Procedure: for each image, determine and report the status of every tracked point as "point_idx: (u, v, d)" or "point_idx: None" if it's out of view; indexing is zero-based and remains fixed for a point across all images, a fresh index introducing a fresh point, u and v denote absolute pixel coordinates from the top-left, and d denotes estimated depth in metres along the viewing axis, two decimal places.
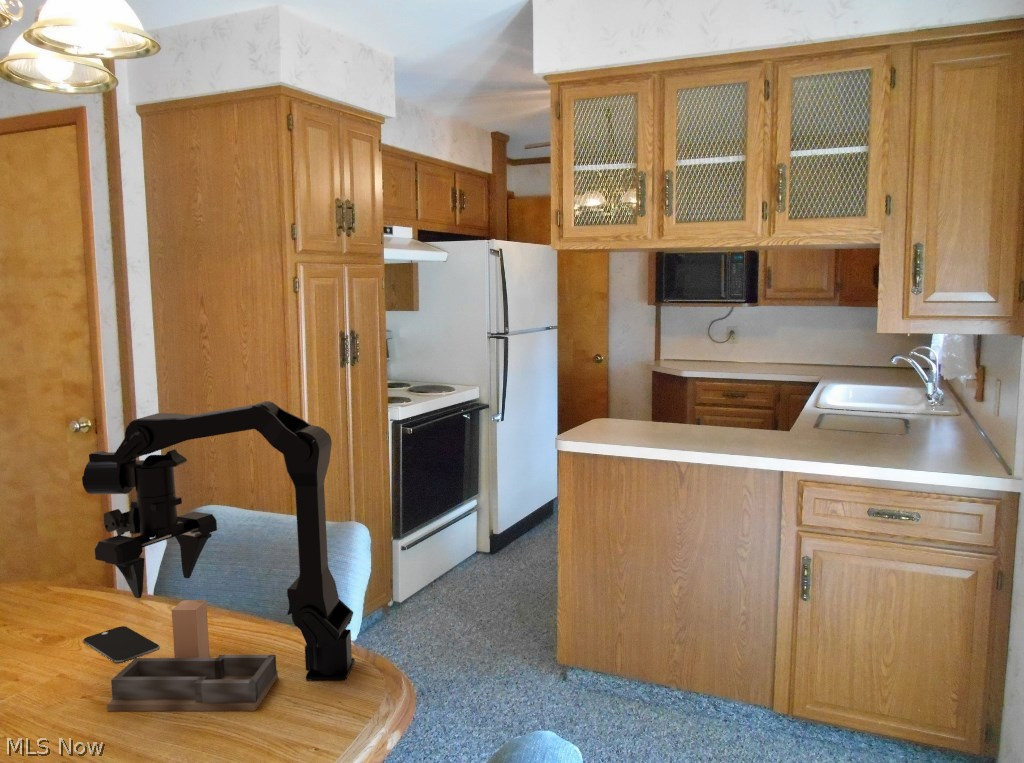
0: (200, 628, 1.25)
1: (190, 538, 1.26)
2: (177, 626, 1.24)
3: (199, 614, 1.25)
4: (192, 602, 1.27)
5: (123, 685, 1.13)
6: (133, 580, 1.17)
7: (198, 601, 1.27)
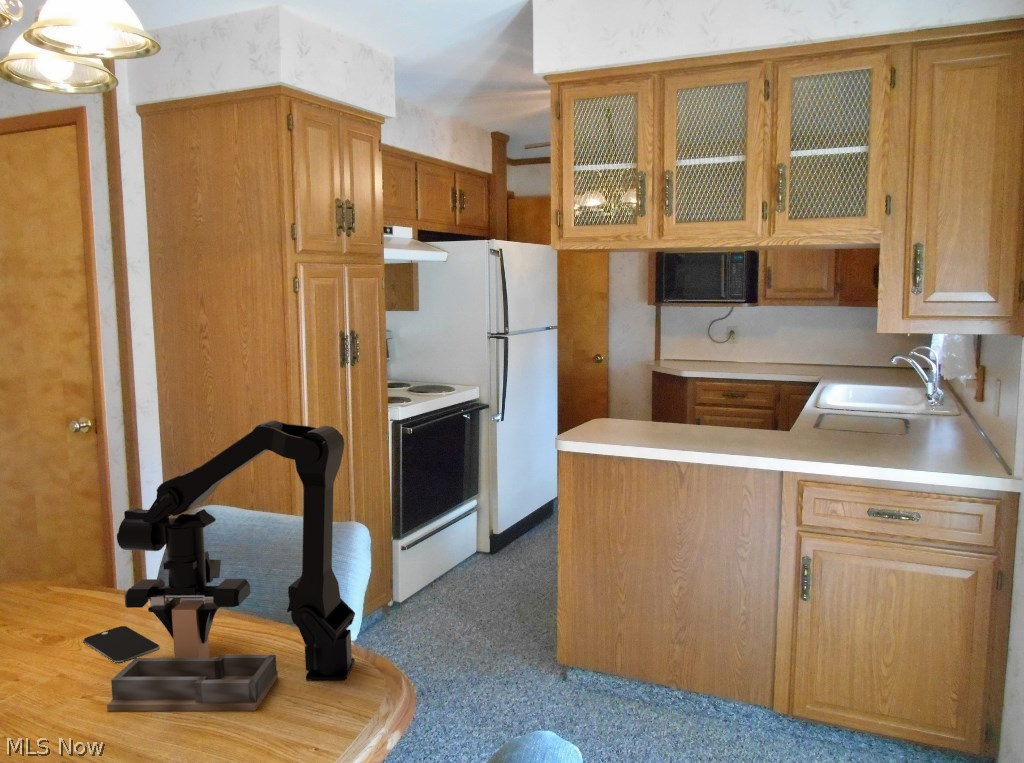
0: None
1: (202, 605, 1.24)
2: (177, 626, 1.24)
3: None
4: (192, 602, 1.27)
5: (123, 685, 1.13)
6: None
7: (198, 601, 1.27)
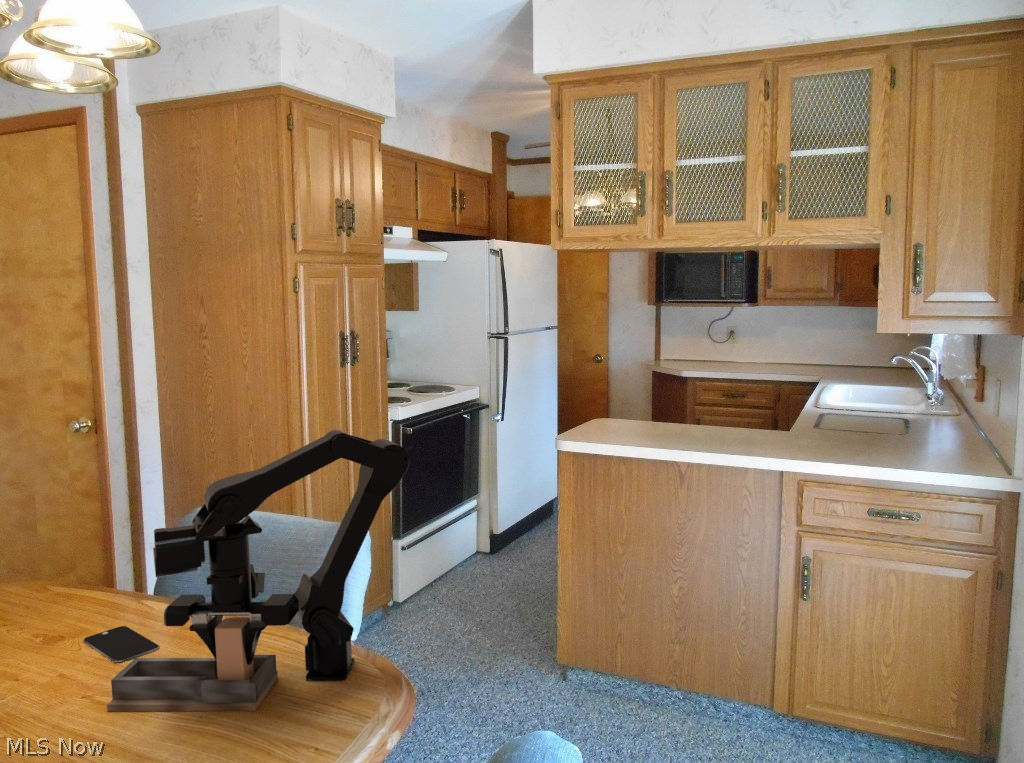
0: None
1: (248, 623, 1.14)
2: (220, 646, 1.13)
3: None
4: (236, 619, 1.16)
5: (123, 685, 1.13)
6: None
7: (242, 618, 1.16)
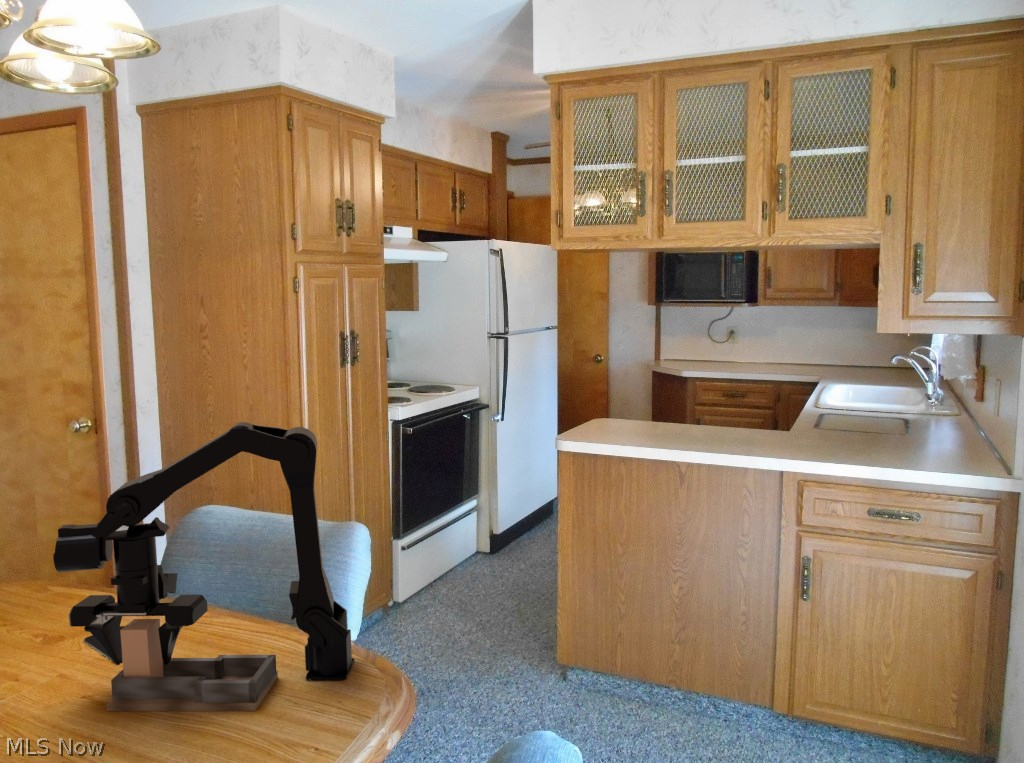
0: (152, 649, 1.15)
1: None
2: (126, 647, 1.14)
3: (150, 635, 1.15)
4: (144, 621, 1.17)
5: (123, 685, 1.13)
6: None
7: (150, 620, 1.17)
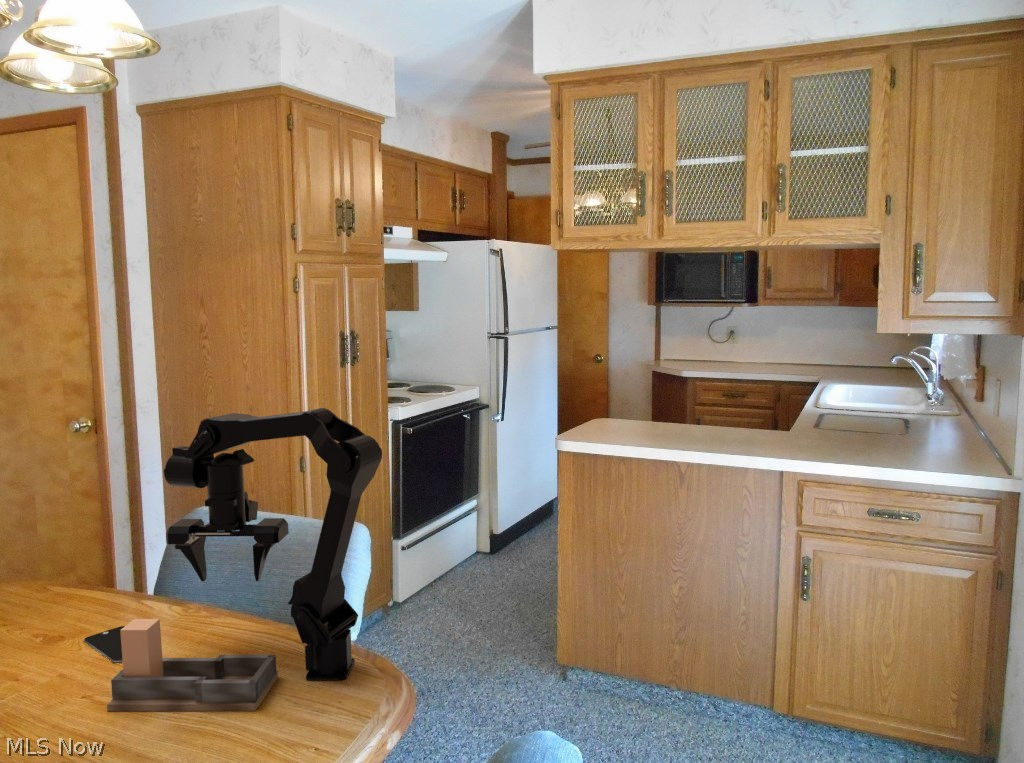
0: (152, 649, 1.15)
1: None
2: (126, 647, 1.14)
3: (150, 635, 1.15)
4: (144, 621, 1.17)
5: (123, 685, 1.13)
6: None
7: (150, 620, 1.17)
